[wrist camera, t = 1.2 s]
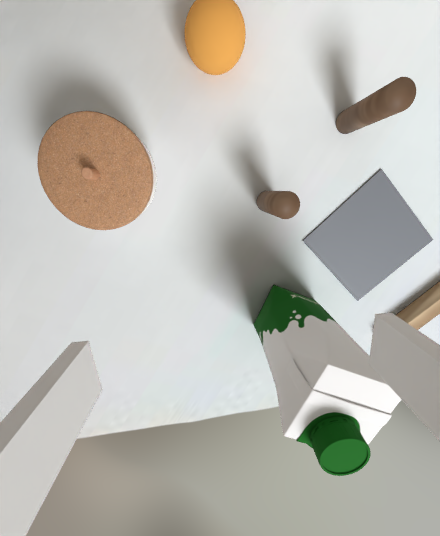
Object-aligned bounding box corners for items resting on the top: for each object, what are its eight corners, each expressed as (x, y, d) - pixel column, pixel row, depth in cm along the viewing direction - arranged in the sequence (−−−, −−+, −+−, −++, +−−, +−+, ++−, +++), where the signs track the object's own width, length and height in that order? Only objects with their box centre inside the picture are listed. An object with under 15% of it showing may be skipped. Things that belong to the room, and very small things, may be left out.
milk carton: (245, 327, 38) (280, 465, 19) (270, 275, 36) (339, 374, 17) (295, 344, 39) (375, 490, 20) (323, 296, 37) (443, 409, 18)
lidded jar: (63, 188, 31) (3, 187, 22) (104, 109, 29) (56, 73, 20) (137, 237, 33) (111, 254, 24) (181, 168, 31) (170, 159, 22)
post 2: (331, 121, 30) (380, 94, 21) (348, 104, 29) (405, 69, 21) (344, 138, 31) (396, 118, 22) (361, 122, 30) (421, 94, 22)
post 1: (252, 201, 32) (267, 205, 24) (267, 186, 32) (288, 185, 23) (265, 215, 33) (284, 224, 24) (280, 201, 33) (305, 205, 24)
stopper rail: (373, 332, 39) (383, 341, 37) (463, 263, 36) (481, 268, 34) (380, 340, 40) (391, 349, 37) (469, 272, 37) (487, 277, 34)
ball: (176, 52, 27) (166, 15, 22) (214, 3, 26) (215, -48, 20) (214, 97, 29) (215, 74, 23) (252, 53, 28) (263, 17, 22)
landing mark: (302, 240, 34) (303, 240, 34) (380, 169, 32) (381, 169, 32) (357, 300, 37) (357, 300, 37) (431, 239, 35) (433, 239, 35)
